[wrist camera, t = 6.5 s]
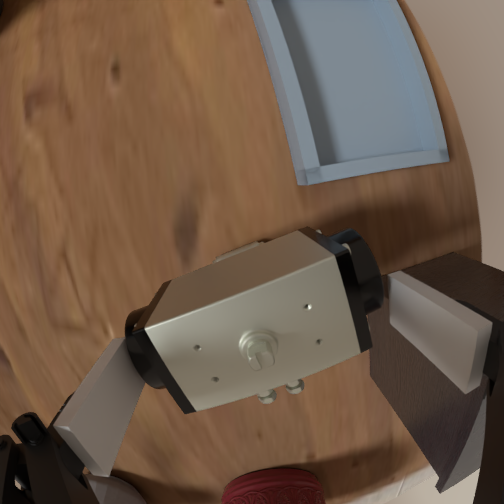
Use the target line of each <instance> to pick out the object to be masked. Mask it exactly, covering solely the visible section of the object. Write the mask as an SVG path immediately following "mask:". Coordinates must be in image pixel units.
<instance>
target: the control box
mask: <svg viewBox="0 0 504 504" xmlns="http://www.w3.org/2000/svg"><path fill="white" fill-rule="evenodd" d="M400 271H402V272H403V273H405V274H407V275H409V276H411V277H413V278H415V279H417V280H418V281H420V282H422V283H424V284H426V285H428V286H430V287H431V288H433V289H435V290H437V291H439V292H440V293H442V294H444V295H446V296H448V297H449V298H451V299H453V300H456V299H457V300H461V301H465V302H468V303H470V304H471V305H473V306H475V308H476V307H477V308H479V309H480V310H481V311H484V312H486V313H487V314H489V315H491V316H493V317H494V318H496V319H498V320H500V321H501V322H503V321H504V272H503V271H501V270H499V269H496V268H493V267H491V266H489V265H486V264H483V263H481V262H478V261H476V260H473V259H470V258H468V257H465V256H462V255H460V254H457V253H454V252H452V253H450V254H447V255H444V256H441V257H438V258H436V259H433V260H430V261H427V262H424V263H421V264H418V265H415V266H412V267H409V268H406V269H403V270H400ZM381 277H382V282H383V287H384V302H383V305H382V307H381V308H380V309H378V310H376V311H374V312H372V313H370V314H368V324H369V327H370V335H371V340H372V345H373V347H372V348H370V376H371V378H372V379H373V380H374V382H375V383H376V385H377V386H378V388H379V389H380V390H381V392H382V393H383V395H384V396H385V398H386V399H387V401H388V402H389V403H390V405H391V406H392V408H393V409H394V411H395V412H396V414H397V415H398V417H399V418H400V419H401V421H402V422H403V424H404V425H405V427H406V428H407V430H408V431H409V433H410V434H411V436H412V437H413V439H414V440H415V442H416V443H417V445H418V446H419V448H420V449H421V451H422V452H423V454H424V455H425V457H426V458H427V460H428V461H429V463H430V464H431V466H432V467H433V469H434V470H435V472H436V473H437V475H438V476H439V480H438V482H437V484H436V486H435V487H436V488H437V490H438V491H439V493H442V492H444V491H445V490H447V489H449V488H450V487H452V486H454V485H455V484H457V483H458V482H460V481H461V480H463V479H464V478H466V477H467V476H469V475H470V474H472V473H473V472H475V471H476V470H477V469H479V468H480V466H481V460H482V452H483V444H484V434H485V422H486V397H487V395H486V397H485V399H482V398H483V395H484V392H485V388H486V385H487V381H488V376H486V375H485V374H484V373H483V374H482V378H481V382H480V386H478V387H476V388H475V389H473V390H472V391H470V392H469V393H467V394H464V393H463V392H462V391H461V390H460V389H459V388H458V387H457V386H456V385H455V384H454V383H453V382H452V381H451V380H450V379H449V378H448V377H447V376H446V375H445V374H444V373H443V372H442V371H441V370H440V369H439V368H438V367H437V366H435V365H434V364H433V363H432V362H431V361H430V360H429V359H428V358H427V357H426V356H425V355H424V354H423V353H422V352H421V351H420V350H418V349H417V348H416V347H415V346H414V345H413V344H412V343H411V342H410V341H409V340H408V339H407V338H405V337H404V336H403V335H402V334H401V333H400V332H399V331H398V330H397V329H396V328H394V327H393V326H392V325H391V324H390V311H389V293H388V279H387V275H384V276H381Z"/></svg>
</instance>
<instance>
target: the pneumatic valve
mask: <svg viewBox="0 0 504 504" xmlns="http://www.w3.org/2000/svg"><path fill="white" fill-rule="evenodd" d="M383 302H384V287H383V282H382V277H381V274H380V271H379V268H378V265H377V263H376V260H375V258H374V256H373V254H372V252H371V250H370V248H369V247H368V245H367V243H366V242H365V241H364V239H363V238H362V237H361V236H360V234H359V233H358V232H356V231H355V230H354V229H352V228H345V229H342V230H340V231H337V232H335V233H333V234H330V235H327V236H324V235H323V234H322V233H321V231H320V230H316V231H315V230H313V229H311V228H310V227H308V226H307V227H305V228H302V229H299V230H297V231H294V232H292V233H289V234H287V235H284V236H282V237H279V238H276V239H274V240H271V241H269V242H266V243H264V242H260V243H258V242H257V241H255V242H253V243H250V244H248V245H245V246H243V247H240V248H238V249H235V250H233V251H230V252H228V253H225V254H222V255H220V256H217V257H216V260H215V261H213V264H210V265H208V266H205V267H203V268H200V269H198V270H195V271H193V272H190V273H188V274H185V275H182V276H180V277H177V278H175V279H172V280H170V281H167V282H165V283H163V284H162V286H161V287H160V289H159V290H158V292H157V293H155V296H154V298H153V299H152V301H151V302H150V304H149V305H148V306H145V307H143V308H140V309H137V310H134V311H132V312H131V313H130V314H129V315H128V317H127V320H126V323H125V340H126V345H127V349H128V353H129V356H130V358H131V361H132V363H133V365H134V367H135V369H136V370H137V372H138V374H139V375H140V376H141V378H142V379H143V380H144V381H145V382H146V383H147V384H148V385H150V386H151V387H153V388H155V389H164V388H167V390H168V391H169V393H170V394H171V396H172V397H173V398H174V400H175V401H176V403H177V404H178V406H179V407H180V408H181V410H182V411H183V412H184V414H188V413H193V412H197V411H201V410H205V409H208V408H212V407H216V406H220V405H223V404H227V403H230V402H234V401H237V400H240V399H243V398H247V397H250V396H253V395H256V394H257V395H258V399H259V400H260V401H261V402H262V403H264V404H269V403H271V402H273V401H274V400H275V399H276V392H275V391H274V390H273V389H274V388H277V387H280V386H282V385H286V389H287V391H288V392H289V393H291V394H297V393H300V392H301V391H302V390H303V389H304V382H303V380H301V378H304V377H306V376H309V375H311V374H314V373H316V372H319V371H321V370H324V369H326V368H328V367H331V366H333V365H335V364H338V363H340V362H342V361H344V360H347V359H349V358H351V357H353V356H355V355H358V354H360V353H362V352H364V351H366V350H368V349H370V348H372V347H373V345H372V340H371V335H370V327H369V324H368V321H367V317H366V315H367V314H370V313H372V312H374V311H376V310H378V309H380V308H381V307H382V305H383Z"/></svg>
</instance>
